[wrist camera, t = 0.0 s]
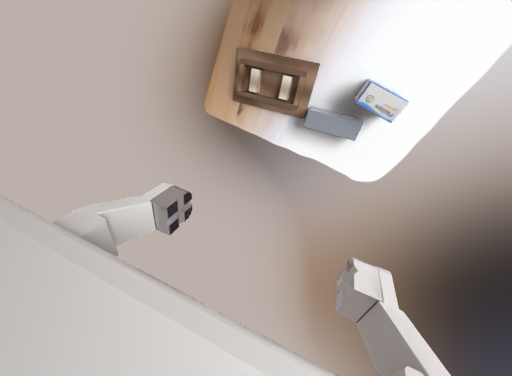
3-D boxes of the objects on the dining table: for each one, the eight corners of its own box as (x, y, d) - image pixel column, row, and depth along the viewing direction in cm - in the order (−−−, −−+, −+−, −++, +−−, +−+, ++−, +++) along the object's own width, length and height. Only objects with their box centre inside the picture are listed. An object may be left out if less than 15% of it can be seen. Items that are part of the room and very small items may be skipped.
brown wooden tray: (239, 47, 50) (233, 46, 47) (320, 63, 45) (318, 63, 43) (235, 99, 57) (229, 100, 54) (304, 117, 52) (301, 120, 49)
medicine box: (401, 96, 43) (411, 101, 36) (385, 115, 46) (391, 124, 39) (367, 78, 44) (371, 80, 37) (354, 98, 46) (354, 103, 39)
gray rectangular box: (311, 106, 50) (308, 109, 46) (361, 118, 48) (363, 123, 44) (306, 122, 53) (303, 126, 49) (354, 135, 50) (354, 141, 46)
